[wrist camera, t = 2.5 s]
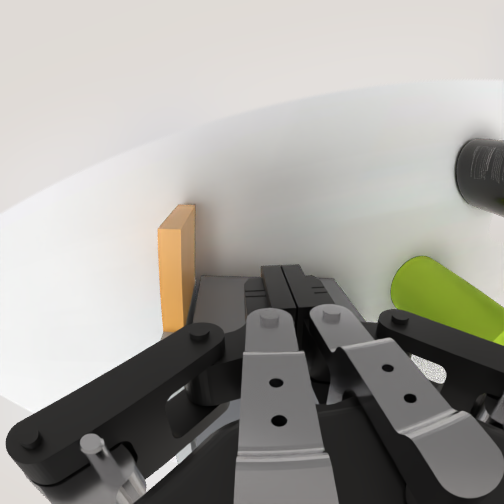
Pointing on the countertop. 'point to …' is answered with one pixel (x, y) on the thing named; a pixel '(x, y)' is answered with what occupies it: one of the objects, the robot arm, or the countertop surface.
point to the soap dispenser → (446, 299)
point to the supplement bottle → (482, 174)
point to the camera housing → (240, 321)
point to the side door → (178, 278)
